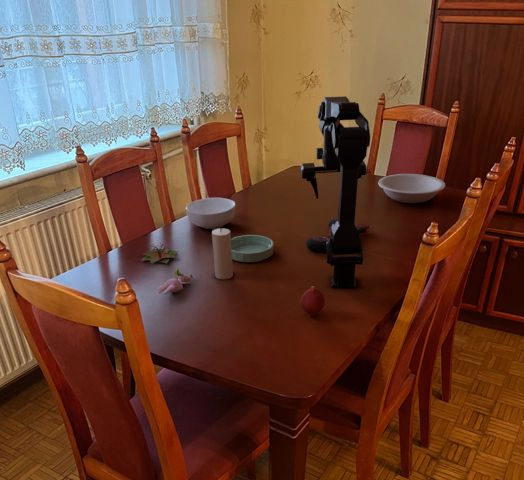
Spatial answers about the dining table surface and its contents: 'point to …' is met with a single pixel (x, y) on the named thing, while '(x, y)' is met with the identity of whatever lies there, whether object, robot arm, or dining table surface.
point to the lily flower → (159, 255)
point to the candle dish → (251, 248)
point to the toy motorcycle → (320, 242)
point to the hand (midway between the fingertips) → (332, 197)
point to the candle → (222, 253)
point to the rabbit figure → (175, 283)
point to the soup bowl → (411, 187)
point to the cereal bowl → (211, 212)
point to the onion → (312, 301)
